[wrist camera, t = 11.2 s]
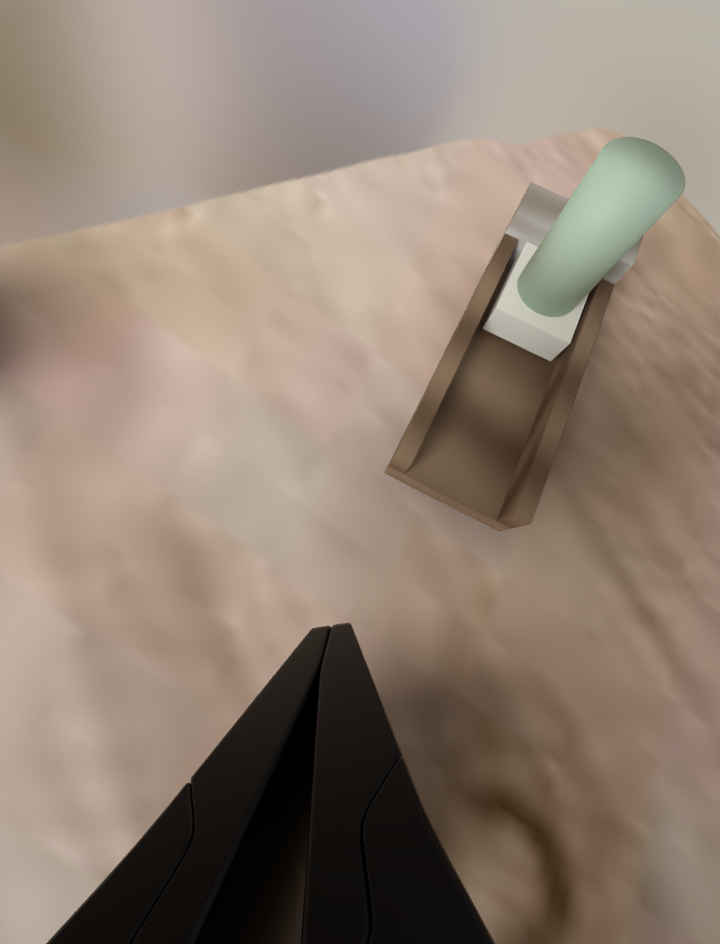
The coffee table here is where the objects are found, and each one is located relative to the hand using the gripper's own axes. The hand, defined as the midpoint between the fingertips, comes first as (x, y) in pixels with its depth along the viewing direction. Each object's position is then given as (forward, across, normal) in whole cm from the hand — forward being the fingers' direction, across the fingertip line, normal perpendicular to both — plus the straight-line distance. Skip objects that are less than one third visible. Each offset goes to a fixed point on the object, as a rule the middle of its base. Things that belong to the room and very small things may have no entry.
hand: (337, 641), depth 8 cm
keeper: (+21, -13, -6) cm, 26 cm away
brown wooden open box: (+20, -10, -3) cm, 23 cm away
